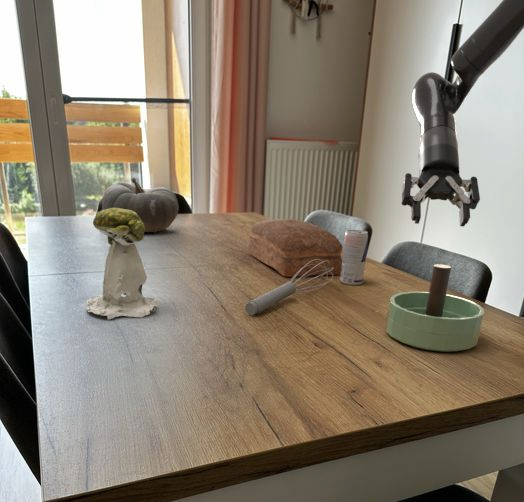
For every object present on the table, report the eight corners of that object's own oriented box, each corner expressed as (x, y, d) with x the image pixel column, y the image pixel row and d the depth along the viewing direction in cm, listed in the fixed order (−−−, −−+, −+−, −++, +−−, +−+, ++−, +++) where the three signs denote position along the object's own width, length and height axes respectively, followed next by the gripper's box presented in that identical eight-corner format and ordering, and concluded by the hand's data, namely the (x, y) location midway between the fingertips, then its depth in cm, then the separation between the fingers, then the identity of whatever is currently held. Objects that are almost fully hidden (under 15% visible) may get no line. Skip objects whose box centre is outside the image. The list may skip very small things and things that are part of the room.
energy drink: (364, 281, 124) (371, 231, 119) (359, 286, 119) (365, 234, 114) (343, 278, 126) (348, 228, 121) (337, 283, 121) (342, 231, 116)
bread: (282, 279, 122) (285, 230, 118) (244, 252, 148) (245, 212, 143) (345, 275, 128) (350, 229, 124) (298, 251, 153) (301, 212, 149)
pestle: (436, 329, 92) (448, 263, 88) (447, 338, 88) (461, 269, 84) (413, 329, 91) (424, 263, 87) (423, 338, 87) (436, 269, 83)
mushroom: (83, 302, 99) (73, 204, 92) (149, 296, 104) (145, 203, 97) (90, 321, 89) (79, 213, 82) (163, 315, 94) (159, 212, 87)
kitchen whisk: (230, 315, 96) (231, 282, 93) (313, 281, 122) (316, 255, 120) (257, 322, 93) (259, 288, 91) (337, 286, 120) (340, 259, 117)
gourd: (101, 215, 183) (106, 165, 175) (171, 227, 190) (179, 180, 183) (97, 235, 162) (102, 179, 154) (176, 248, 169) (185, 195, 162)
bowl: (450, 322, 98) (455, 291, 96) (495, 353, 84) (503, 318, 82) (373, 322, 96) (377, 291, 94) (406, 355, 82) (412, 319, 79)
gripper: (406, 140, 101) (406, 207, 95) (481, 143, 99) (486, 212, 93) (399, 167, 108) (398, 232, 101) (468, 171, 106) (472, 236, 100)
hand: (440, 222), depth 97 cm, fingers open, 8 cm apart
